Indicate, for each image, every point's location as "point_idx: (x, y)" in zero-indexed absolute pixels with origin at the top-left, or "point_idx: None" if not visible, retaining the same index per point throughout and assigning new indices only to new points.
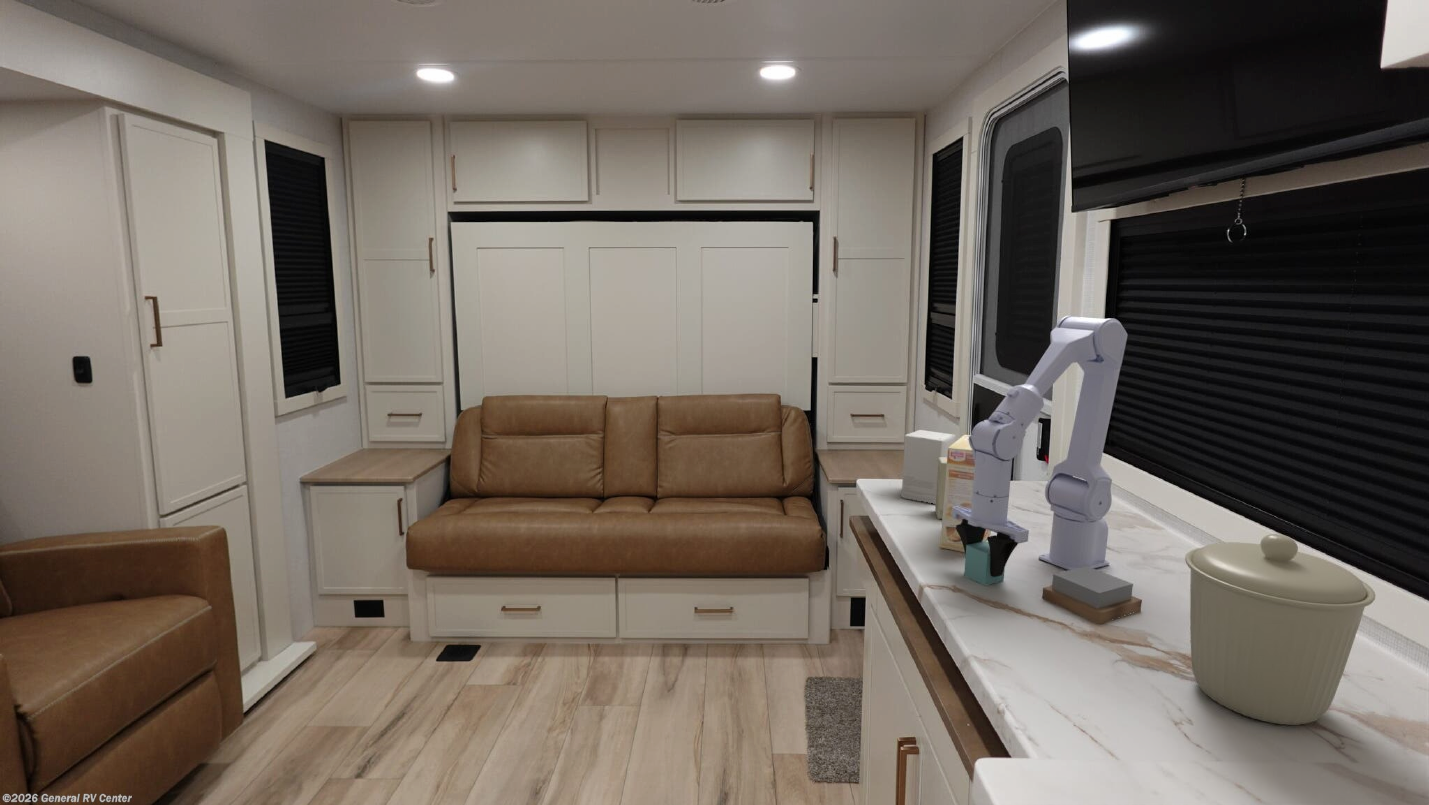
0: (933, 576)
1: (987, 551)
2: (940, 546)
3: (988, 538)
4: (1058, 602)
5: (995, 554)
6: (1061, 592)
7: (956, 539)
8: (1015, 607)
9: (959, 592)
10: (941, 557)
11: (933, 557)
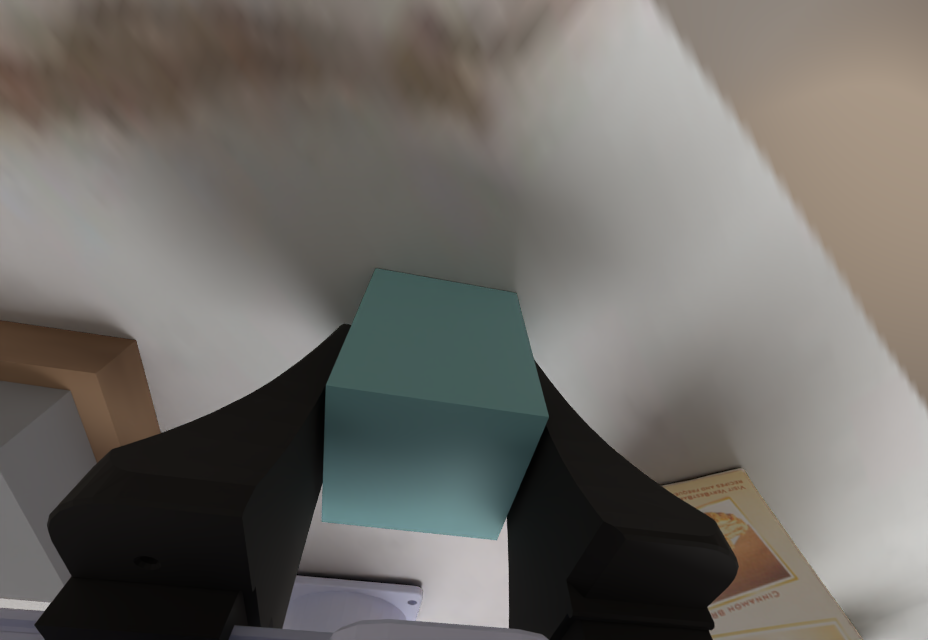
0: (644, 146)
1: (364, 423)
2: (744, 472)
3: (230, 499)
4: (26, 335)
5: (251, 400)
6: (4, 384)
7: None
8: (66, 128)
9: (392, 37)
10: (701, 396)
11: (735, 372)
